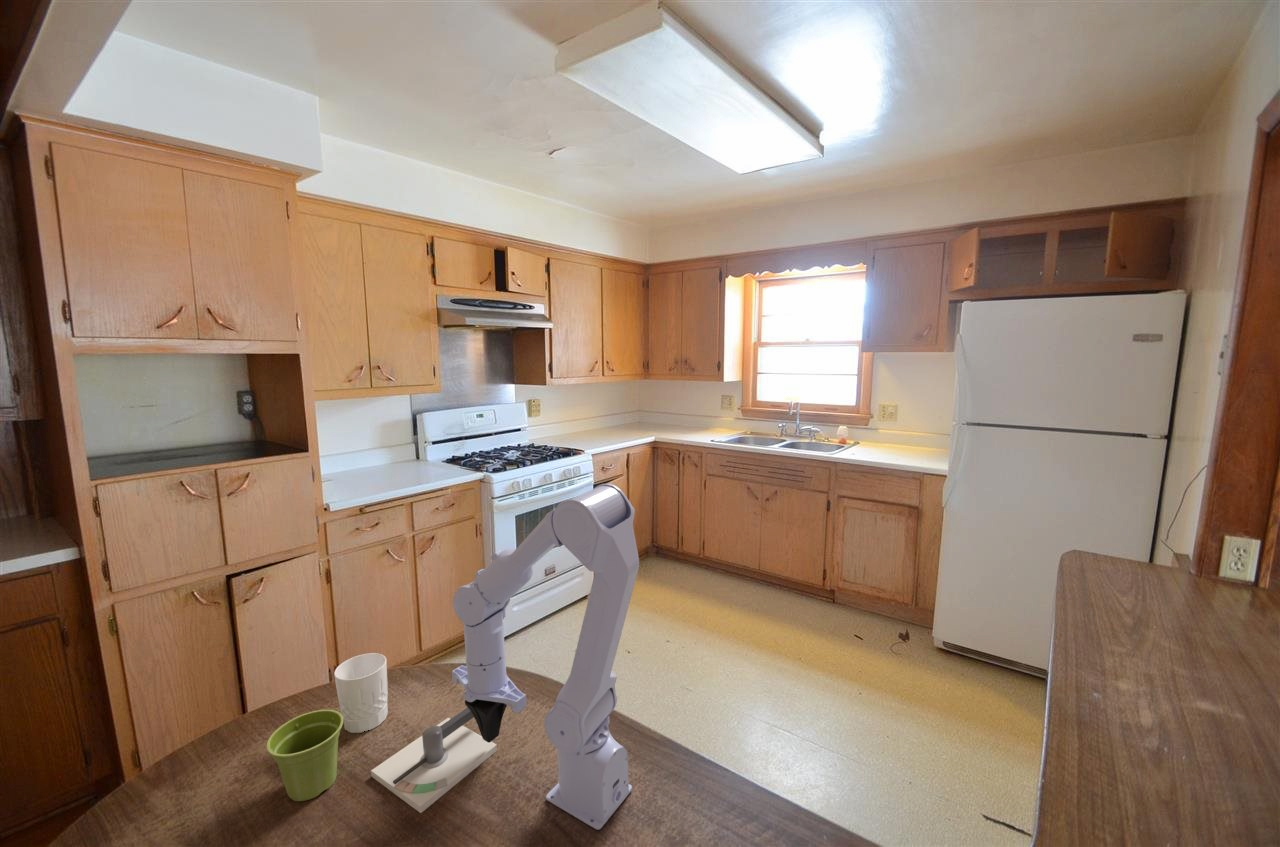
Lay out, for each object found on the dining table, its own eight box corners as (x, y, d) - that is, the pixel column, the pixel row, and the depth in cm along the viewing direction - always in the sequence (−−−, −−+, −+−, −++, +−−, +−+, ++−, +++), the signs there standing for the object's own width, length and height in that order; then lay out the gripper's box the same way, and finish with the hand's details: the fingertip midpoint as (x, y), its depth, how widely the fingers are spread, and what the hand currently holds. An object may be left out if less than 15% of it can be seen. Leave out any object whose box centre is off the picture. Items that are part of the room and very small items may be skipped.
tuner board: (497, 750, 83) (497, 743, 83) (421, 814, 72) (420, 806, 71) (448, 722, 89) (448, 716, 89) (371, 776, 78) (370, 769, 78)
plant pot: (261, 820, 71) (254, 762, 70) (287, 768, 80) (281, 716, 79) (338, 803, 74) (332, 746, 73) (355, 754, 83) (350, 703, 82)
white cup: (329, 727, 89) (323, 672, 88) (372, 700, 96) (367, 648, 95) (359, 742, 85) (353, 685, 84) (401, 712, 92) (396, 659, 91)
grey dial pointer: (400, 790, 74) (397, 764, 73) (388, 781, 76) (386, 756, 75) (489, 722, 87) (487, 700, 87) (478, 716, 89) (476, 695, 88)
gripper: (433, 654, 81) (439, 735, 82) (498, 684, 73) (503, 773, 74) (470, 633, 86) (475, 709, 88) (534, 659, 78) (539, 742, 80)
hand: (491, 737), depth 82 cm, fingers closed
